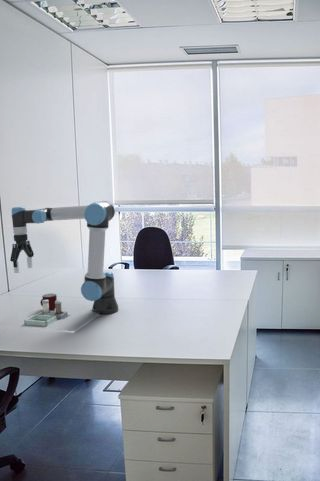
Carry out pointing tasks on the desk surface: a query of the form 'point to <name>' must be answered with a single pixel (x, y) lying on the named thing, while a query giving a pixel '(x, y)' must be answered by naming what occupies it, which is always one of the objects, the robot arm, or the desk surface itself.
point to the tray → (32, 321)
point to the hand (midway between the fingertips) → (23, 270)
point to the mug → (50, 300)
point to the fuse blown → (58, 307)
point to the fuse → (45, 306)
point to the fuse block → (53, 313)
